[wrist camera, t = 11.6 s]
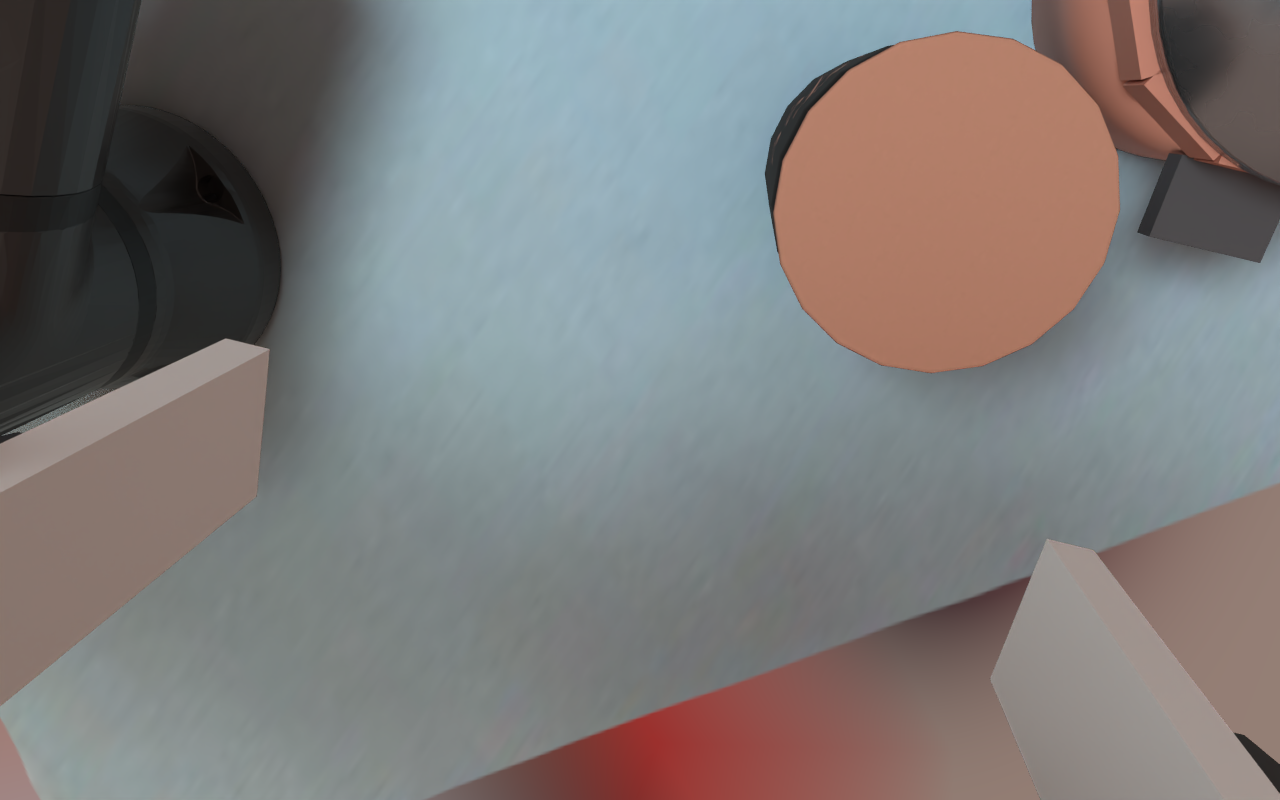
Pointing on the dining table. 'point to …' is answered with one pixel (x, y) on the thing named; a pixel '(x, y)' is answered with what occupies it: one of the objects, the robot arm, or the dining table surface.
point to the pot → (1157, 128)
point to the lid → (1225, 75)
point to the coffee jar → (942, 199)
